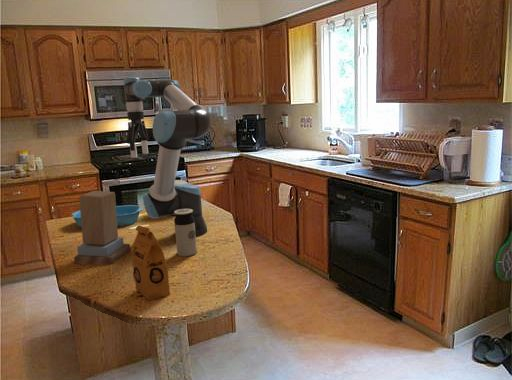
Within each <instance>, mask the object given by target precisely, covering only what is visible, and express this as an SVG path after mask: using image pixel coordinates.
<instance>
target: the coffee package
mask: <svg viewBox="0 0 512 380" xmlns="http://www.w3.org/2000/svg"><path fill="white" fill-rule="evenodd" d="M135 230H136V231H137V234H136V237H135V239H134V241H133V242H132V246H131V247H130V251H131V260H132V269H133V272H132V278H133V280H134V284H135V290H137V291H138V292H139V293H140V294H141V295H142V296H144V297H145V298H147V300H149V301H153V300H155V299H160V298H164V297H167V296H169V295H171V291H170V282H169V270H168V265H167V261H166V257H165V254H164V251H163V249H162V246H161V245H160V243H159V242H158V240H157V238H156V236H155V235H154V233H153V232H152V231H151V229H150V228H149V227H146V226H143V225H140V224H139V225H137V226H136V228H135Z"/></svg>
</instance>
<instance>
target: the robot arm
mask: <svg viewBox="0 0 512 380" xmlns="http://www.w3.org/2000/svg"><path fill="white" fill-rule="evenodd" d="M123 88H124V96H125V107H126V111H128V112H126V114H127V120H128V122H127V134H126V135H127V137H126V144H128V145H129V149H130V150H129V151H130V158H133V159H134V158H138V152H137V143H136V140H137V139H136V138H137V134H138V135H139V136H140V138H141V140H140V141H141V149H142V155H145V154H146V155H147V154H149V148H148V141H149V140H150V137H149V133H148V130H147V127H146V123H145V120H144V119H145V115H144V111H143V110H144V106H143V105H144V104H143V99H145V98H163V99H165V100H166V101H167V102H169V104H170V105H172V107H174V108H175V110H168V109H167V110H165V111H164V110H163V111H160V112H157V113H156V115H154V118H153V121H152V134H153V135H152V136H153V138H154V140H155V141H156V143H157V145H158V146H159V147H158V148H159V149H158V154H157V160H156V161H157V162H156V169H155V173H154V181H153V184H152V185H151V186H150V187H149V190H148V191H149V192H148V193H147V192H146V193H143V196H142V201H143V205H144V209H145V212H146V213H147V216H148V217H149V218H150V219H159V218H164V217H169V216H175V215H174V214H175V213H174V212H175V211H176V210H179V209H192V210H193V212H192V215H193V217H194V223H195V234H196V237H199V236H201V235H204V234H206V233H207V232H208V225H207V223H206V221H205V219H204V217H203V216H204V215H203V207H202V194H201V192H202V191H201V189H200V186H198V185H197V184H192V183H189V184H177V185H175V187H174V183H175V180H176V176H177V171H178V166H179V161H180V156H181V151H182V150H183V149H184V148H185V147H186V144H187V140H194V139H195V140H196V139H200V138H203V137H204V136H205V135H206V134H207V133H208V132H209V130H210V128H211V125H212V117H211V114H210V112H209V110H208V109H206V107H204V106H203V105H200V104H198V103H197V102H195V101H193V100H192V99H191V97H189V96H188V95H187V94H186V93H184V91H182V90H181V85H180V83H179V81H178V80H177V79H176V80H175V79H159V80H158V79H157V80H156V79H155V80H145V79H141V78H140V77H137V76H136V77H133V76H132V77H125V78H124V79H123ZM129 121H130V122H129ZM174 188H175V189H174Z"/></svg>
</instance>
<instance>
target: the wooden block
mask: <svg viewBox="0 0 512 380" xmlns="http://www.w3.org/2000/svg"><path fill="white" fill-rule="evenodd" d="M78 199H79V208H80V210H79V211H80V212H81V224H82V228H81V233H82V244H83V243H84V244H95V245H106V244H108V243H110V242H112V241H113V240H115V239H117V238H118V237H119V235H118V226H117V216H116V206H117V203H116V193H115V191H106V190H105V191H103V190H93V191H90V192H87V193H84V194H80V195H79V198H78Z"/></svg>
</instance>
